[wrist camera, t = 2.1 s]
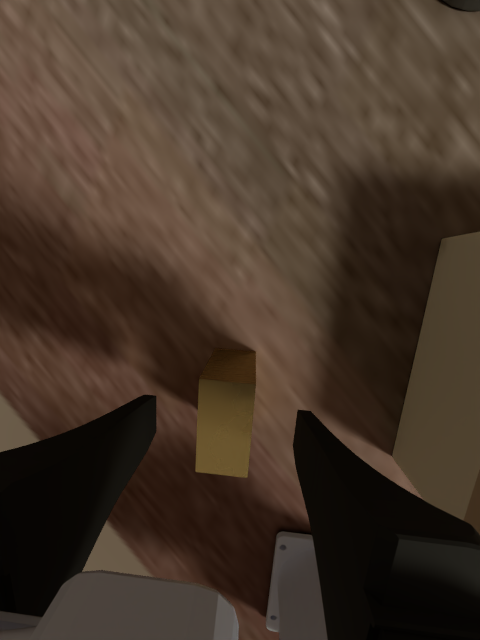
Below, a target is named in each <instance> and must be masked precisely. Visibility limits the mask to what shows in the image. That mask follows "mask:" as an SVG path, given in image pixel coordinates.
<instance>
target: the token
mask: <svg viewBox="0 0 480 640" xmlns="http://www.w3.org/2000/svg"><path fill="white" fill-rule="evenodd" d="M255 388H256V352H255V351H244V350H233V349H222V348H215V350H214V352H213V354H212V356H211V357H210V359H209V361H208V363H207V365H206V367H205V369H204V371H203V372H202V374H201V376H200V378H199V392H198V418H197V444H196V470H195V472H201V473H209V474H218V475H227V476H236V477H244V478H247V477H248V465H249V454H250V443H251V432H252V421H253V410H254V399H255Z"/></svg>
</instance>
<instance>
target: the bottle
mask: <svg viewBox="0 0 480 640" xmlns="http://www.w3.org/2000/svg"><path fill="white" fill-rule="evenodd" d="M443 1H444V2H446V3H447V4H449V5H450V6H452V7H455V8H459V9H462V10H466V11H480V0H443Z"/></svg>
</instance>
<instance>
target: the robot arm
mask: <svg viewBox="0 0 480 640" xmlns="http://www.w3.org/2000/svg"><path fill="white" fill-rule="evenodd" d="M155 433H156V396H153V395H143V396H140V397H138V398H136V399H134V400H132V401H131V402H129V403H127V404H125V405H123V406H121V407H119V408H117V409H115V410H113V411H112V412H110V413H108V414H106V415H103V416H101V417H99V418H97V419H95V420H93V421H91V422H89V423H87V424H84V425H82V426H80V427H77V428H75V429H72V430H70V431H67V432H65V433H62V434H60V435H57V436H54V437H51V438H48V439H45V440H42V441H39V442H36V443H33V444H29V445H26V446H22V447H19V448H15V449H11V450H7V451H3V452H0V640H238V630H239V624H238V620H237V617H236V613H235V609H234V607H233V606H232V604H231V603H230V602H229V601H228V600H227V599H226V598H225V597H224V596H223V595H222V594H221V593H220V592H218V591H217V590H215V589H213V588H210V587H207V586H204V585H201V584H198V583H192V582H185V581H177V580H170V579H163V578H155V577H148V576H141V575H133V574H126V573H119V572H111V571H103V570H98V571H85V572H82V570H83V568H84V566H85V564H86V561H87V559H88V557H89V555H90V553H91V551H92V549H93V547H94V545H95V543H96V540H97V538H98V536H99V534H100V532H101V530H102V528H103V526H104V524H105V522H106V520H107V518H108V516H109V514H110V512H111V510H112V508H113V507H114V505H115V503H116V501H117V499H118V498H119V496H120V494H121V493H122V491H123V489H124V488H125V486H126V485H127V483H128V481H129V480H130V478H131V476H132V475H133V473H134V472H135V470H136V468H137V467H138V465H139V464H140V462H141V460H142V459H143V457H144V455H145V454H146V452H147V450H148V448H149V446H150V444H151V442H152V440H153V438H154V435H155ZM293 450H294V458H295V465H296V470H297V474H298V478H299V482H300V486H301V490H302V494H303V497H304V501H305V505H306V509H307V513H308V517H309V522H310V526H311V531H312V535H308V534H300V533H292V532H284V531H281V532H279V533H278V534H277V536H276V543H275V551H274V559H273V567H272V575H271V583H270V591H269V599H268V607H267V615H266V627H267V629H268V630H270V631H276V632H279V640H480V534H479V533H478V532H477V531H476V529H475V528H474V527H473V526H472V525H471V524H469V523H467V522H465V521H463V520H461V519H459V518H457V517H455V516H453V515H451V514H449V513H447V512H445V511H443V510H441V509H439V508H437V507H435V506H433V505H431V504H429V503H428V502H426V501H424V500H422V499H421V498H419V497H417V496H415V495H414V494H412V493H410V492H408V491H407V490H405V489H404V488H402V487H400V486H399V485H397V484H396V483H394V482H393V481H391V480H389V479H388V478H386V477H385V476H383V475H382V474H381V473H379V472H378V471H376V470H375V469H373V468H372V467H371V466H370V465H368V464H367V463H366V462H364V461H363V460H362V459H360V458H359V457H358V456H357V455H355V454H354V453H353V452H352V451H351V450H350V449H349V448H347V447H346V446H345V445H344V444H343V443H342V442H341V441H340V440H339V439H337V438H336V437H335V436H334V435H333V434H332V433H331V432H330V431H329V430H328V429H327V428H326V427H325V426H324V425H323V424H322V422H321V421H320V420H319V419H318V418H317V417H316V416H315V415H314V414H313V413H312V412H311V411H305V410H298V412H297V419H296V427H295V434H294V442H293Z"/></svg>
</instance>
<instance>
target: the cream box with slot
mask: <svg viewBox="0 0 480 640" xmlns="http://www.w3.org/2000/svg"><path fill="white" fill-rule="evenodd" d="M392 457H393V459H394V460H395V461H396V463H397V464H398V466H399V467H400V468H401V470H402V471H403V472H404V474H405V475H406V476H407V478H408V479H409V480H410V482H411V483H412V484H413V486H414V487H415V488H416V490H417V491H418V492H419V494H420V495H421V496H422V498H423V499H424V501H426V502H428V503H429V504H431V505H433V506H435V507H437V508H439V509H441V510H443V511H445V512H447V513H449V514H451V515H453V516H455V517H457V518H459V519H461V520H463V521H465V522H467V523H469V524H471V525H472V526H473V527H474V528H475V529H476V531H477V532H478V533H479V534H480V232H475V233H469V234H464V235H459V236H453V237H448V238H442V240H441V244H440V248H439V253H438V257H437V262H436V266H435V270H434V275H433V279H432V283H431V288H430V292H429V297H428V301H427V305H426V310H425V314H424V318H423V323H422V327H421V331H420V336H419V340H418V345H417V349H416V353H415V358H414V362H413V366H412V371H411V375H410V380H409V384H408V388H407V393H406V397H405V401H404V406H403V410H402V414H401V419H400V423H399V428H398V432H397V436H396V441H395V445H394V449H393V454H392Z"/></svg>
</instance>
